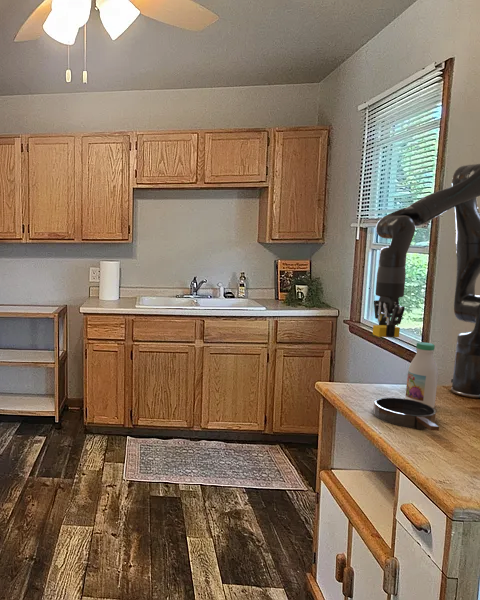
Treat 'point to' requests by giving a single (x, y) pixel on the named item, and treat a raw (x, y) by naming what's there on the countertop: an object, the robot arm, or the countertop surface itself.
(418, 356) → the milk bottle
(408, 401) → the pan
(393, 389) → the countertop surface
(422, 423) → the pan handle
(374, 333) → the sponge
